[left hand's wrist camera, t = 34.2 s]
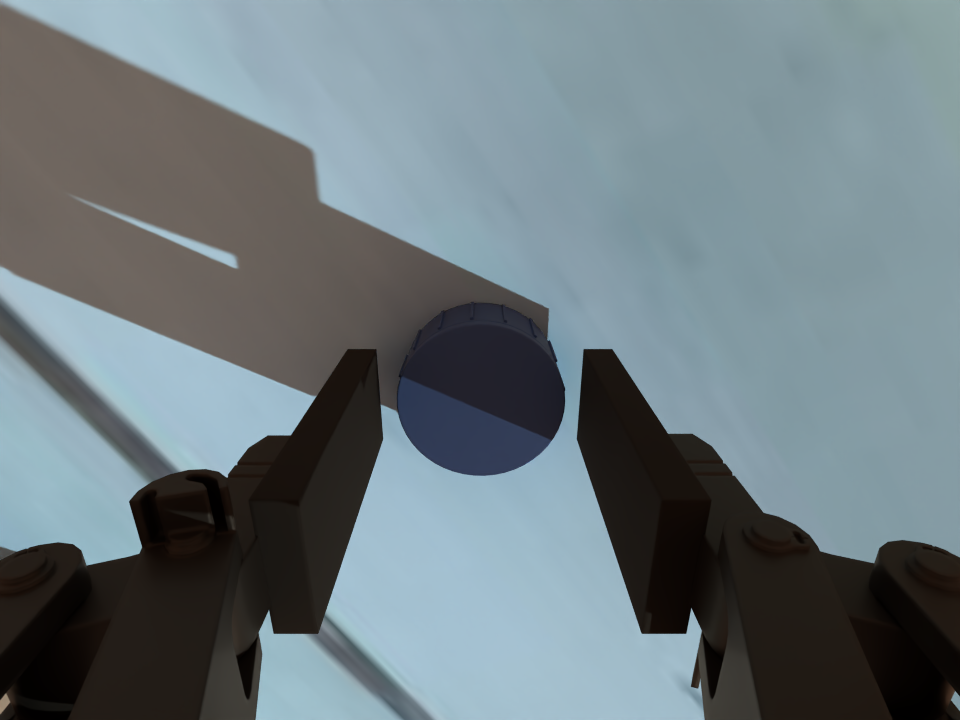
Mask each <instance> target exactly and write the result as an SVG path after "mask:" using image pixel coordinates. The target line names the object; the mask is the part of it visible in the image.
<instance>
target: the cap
mask: <svg viewBox="0 0 960 720" xmlns="http://www.w3.org/2000/svg"><path fill="white" fill-rule="evenodd" d="M556 362H557V358H556V356H555V353H554V350H553V347H552V344H551V342H550V340H549V341H547V339H546V337H545V336H544V334H543V333H542V332H541V330H540V329H539V328H538V327H537V326H536V325H535V324H534V323H533V320H532V319H531V318H530V319H528V318H527V317H526V316H524V315H522V314H521V313H519V312H517V311H515V310H513V309H510V308H508V307H505V305H503V304H502V306H501V305H497V304H490V303H474V302H471V304H465V305H461V306H457V307H455V308H452V309H449V310H447V311H445V312H444V311H442V312H441V314H439V315H438V316H437V317H435V318H434V319H432V320H431V321H430V322H429V323H428V324H427V325H426V326H425V327H424V328H423V329H422V330H419V331H418V334H417V337H416V339H415V341H414V342H413V345H412V347H411V349H410V352H409V355H406V357H405V360H404V363H403V366H402V368H401V371H400V374H399V377H400V381H399V385H398V391H397V409H398V414H399V418H400V421H401V424H402V427H403V429H404V431H405V433H406V435H407V436H408V438H409V439H410V441H411V442H412V444H413V445H414V446H415V447H416V448H417V449H418V450H419V451H420V452H421V453H422V454H423V455H424V456H425V457H426V458H428V459H429V460H431V461H432V462H434V463H435V464H437V465H439V466H441V467H443V468H446V469H448V470H451V471H454V472H458V473H462V474H467V475H479V476H485V475H495V474H500V473H505V472H508V471H511V470H514V469H516V468H519V467H521V466H523V465H525V464H526V463H528V462H530V461H531V460H533V459H534V458H535V457H537V456H538V455H539V454H540V453H541V452H542V451H543V450H544V449H545V448H546V447H547V446H548V445H549V443H550V442H551V441H552V439H553V438H554V436H555V435H556V433H557V431H558V429H559V426H560V424H561V421H562V418H563V414H564V407H565V387H564V384H563V381H562V378H561V375H560V372H559V369H558V367H557V364H556Z"/></svg>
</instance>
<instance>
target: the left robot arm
mask: <svg viewBox="0 0 960 720" xmlns="http://www.w3.org/2000/svg"><path fill="white" fill-rule="evenodd" d="M382 441H383V431H382V418H381V405H380V391H379V378H378V365H377V352H376V349H348V350H347V351H346V353H345V354H344V356H343V357H342V359H341V360H340V362H339V363H338V365H337V366H336V368H335V369H334V371H333V372H332V374H331V375H330V377H329V378H328V380H327V382H326V383H325V385H324V386H323V388H322V389H321V391H320V392H319V394H318V395H317V397H316V398H315V400H314V401H313V403H312V404H311V406H310V407H309V409H308V410H307V412H306V413H305V415H304V416H303V418H302V419H301V421H300V422H299V424H298V426H297V427H296V429H295V430H294V432H293V433H292V435H291V436H266V437H265V438H263V439H262V440H260V441H259V442H257V443H256V444H254V445H252V446H251V447H249V448H248V449H247V451H246V452H245V453H244V455H243V456H242V457H241V459H240V460H239V461H238V462H237V465H235V466H234V468H233V469H232V470H231V471H230V473H229V474H228V478H226V477H225V476H223V475H222V474H221V473H220V472H216V471H212V470H207V469H200V470H187V471H182V472H178V473H174V474H170V475H167V476H165V477H162V478H160V479H158V480H155V481H153V482H151V483H150V484H148V485H147V486H145V487H144V488H142V489H140V490H139V491H138V492H137V493H136V494H135V495H134V496H133V498H132V499H131V500H130V501H129V503H130V507H131V510H132V513H133V517H134V520H135V524H136V527H137V531H138V534H139V538H140V541H141V545H142V549H141V551H140V554H137V555H133V556H130V557H125V558H121V559H116V560H111V561H106V562H102V563H97V564H92V565H88V566H86V563H85V560H84V557H83V554H82V551H81V550H80V549H79V548H77V547H76V546H75V545H73V544H67V543H51V544H44V545H38V546H34V547H30V548H28V549H24V550H21V551H18V552H16V553H14V554H12V555H10V556H8V557H6V558H4V559H2V560H0V700H1V699H2V698H3V696H4V695H5V694H7V696H8V698H9V701H10V703H9V704H8V706H7V707H6V708H5V709H4V710H3V712H2V713H1V714H0V720H255V719H256V709H257V700H258V690H259V680H260V671H261V661H262V649H261V643H260V638H259V633H258V632H259V630H260V628H261V626H262V624H263V622H264V619H265V617H266V615H267V613H268V611H270V617H271V622H272V627H273V632H274V634H318V633H319V630H320V627H321V624H322V621H323V618H324V615H325V612H326V609H327V606H328V603H329V600H330V597H331V594H332V591H333V588H334V585H335V582H336V579H337V576H338V573H339V570H340V567H341V564H342V561H343V558H344V555H345V552H346V549H347V546H348V543H349V540H350V537H351V534H352V531H353V528H354V525H355V522H356V519H357V516H358V513H359V510H360V507H361V504H362V501H363V498H364V495H365V492H366V489H367V486H368V483H369V480H370V477H371V474H372V471H373V468H374V465H375V462H376V459H377V456H378V453H379V450H380V447H381V444H382ZM577 441H578V444H579V447H580V450H581V453H582V456H583V459H584V462H585V465H586V468H587V471H588V474H589V477H590V480H591V483H592V486H593V489H594V492H595V495H596V498H597V501H598V504H599V507H600V510H601V513H602V516H603V519H604V522H605V525H606V528H607V531H608V534H609V537H610V540H611V543H612V546H613V549H614V552H615V555H616V558H617V561H618V564H619V567H620V570H621V573H622V576H623V579H624V582H625V585H626V588H627V591H628V594H629V597H630V600H631V603H632V606H633V609H634V612H635V615H636V618H637V621H638V624H639V627H640V630H641V633H642V634H686V632H687V627H688V622H689V617H690V612H691V608H692V610H693V612H694V614H695V617H696V619H697V621H698V623H699V625H700V627H701V630H702V633H701V638H700V643H699V648H698V653H697V657H696V662H695V667H694V672H693V677H692V684H691V687H694V688H698V687H699V682H700V679H701V689H702V698H703V708H704V718H705V720H960V711H959V710H958V708H957V707H956V706H955V705H954V704H953V702H952V701H951V699H952V696H953V694H954V692H955V691H956V692H957V693H958V695H959V696H960V557H958V556H956V555H954V554H951V553H949V552H948V551H946V550H944V549H941V548H938V547H936V546H935V547H934V546H932V545H929V544H925V543H920V542H912V541H905V540H900V541H892V542H887V543H886V544H884V545H883V546H882V547H880V548H879V551H878V554H877V557H876V560H875V563H869V562H865V561H860V560H855V559H850V558H846V557H841V556H836V555H831V554H828V553H824V552H821V551H819V548H818V546H817V545H816V543H815V542H814V541H813V539H812V538H811V537H810V535H809V534H807V533H806V532H805V531H803V530H802V529H801V528H799V527H798V526H797V525H795V524H793V523H791V522H789V521H786V520H784V519H782V518H780V517H777V516H773V515H770V514H766V513H763V512H762V510H761V509H760V508H759V506H758V505H757V504H756V503H755V501H754V500H753V499H752V497H751V496H750V495H749V494H748V492H747V491H746V490H745V488H744V487H743V486H742V485H741V483H740V482H739V481H738V479H737V478H736V477H735V476H732V472H731V470H730V469H729V468H728V467H727V465H726V464H723V460H722V459H721V458H720V456H719V455H718V454H717V452H716V451H715V450H714V449H713V447H712V446H711V445H709V444H707V443H706V442H704V441H703V440H701V439H700V438H698V437H697V436H695V435H693V434H668V433H667V432H666V430H665V429H664V427H663V426H662V424H661V422H660V421H659V419H658V418H657V416H656V415H655V413H654V412H653V410H652V409H651V407H650V406H649V404H648V403H647V401H646V400H645V398H644V397H643V395H642V394H641V392H640V391H639V389H638V388H637V386H636V385H635V383H634V381H633V380H632V378H631V377H630V375H629V374H628V372H627V371H626V369H625V368H624V366H623V365H622V363H621V362H620V360H619V359H618V357H617V356H616V354H615V353H614V351H613V350H612V349H584V352H583V365H582V379H581V392H580V405H579V418H578V431H577Z"/></svg>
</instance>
